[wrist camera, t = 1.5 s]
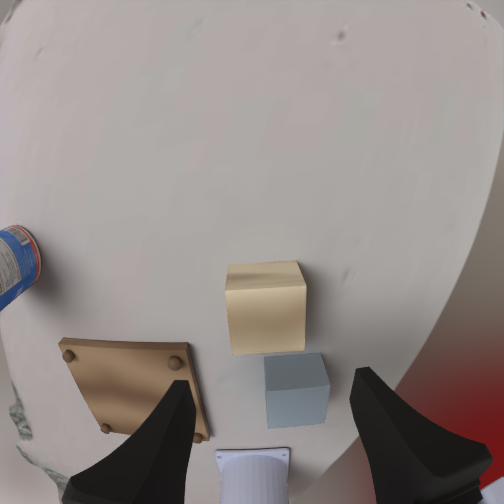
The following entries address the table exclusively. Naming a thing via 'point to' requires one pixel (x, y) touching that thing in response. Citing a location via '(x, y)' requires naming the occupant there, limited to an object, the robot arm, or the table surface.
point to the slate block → (296, 390)
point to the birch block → (266, 307)
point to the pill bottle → (17, 263)
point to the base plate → (130, 380)
